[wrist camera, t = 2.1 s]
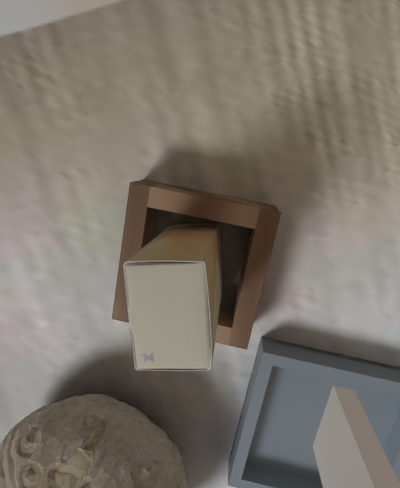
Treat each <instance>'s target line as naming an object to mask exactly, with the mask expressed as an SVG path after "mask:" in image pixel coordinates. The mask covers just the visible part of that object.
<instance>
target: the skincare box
mask: <svg viewBox="0 0 400 488" xmlns="http://www.w3.org/2000/svg"><path fill="white" fill-rule="evenodd" d="M123 268H124V278H125V288H126V297H127V307H128V318H129V325H130V332H131V341H132V349H133V358H134V367H135V369H136V370H150V371H208V370H211V368H212V360H213V352H214V345H215V337H216V330H217V323H218V316H219V309H220V302H221V296H222V253H221V241H220V228H219V224H218V223H192V224H172V225H170V226H169V227H168V228H166V229H165V230H164V231H163V232H161V233H160V234H159V235H158V236H157V237H155V238H154V239H153V240H152V241H150V242H149V243H148V244H147V245H145V246H144V247H143V248H142V249H140V250H139V251H138V252H137V253H136V254H134V255H133V256H132V257H131V258H129V259H128V260H127V261H125V262H124V264H123Z"/></svg>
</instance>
